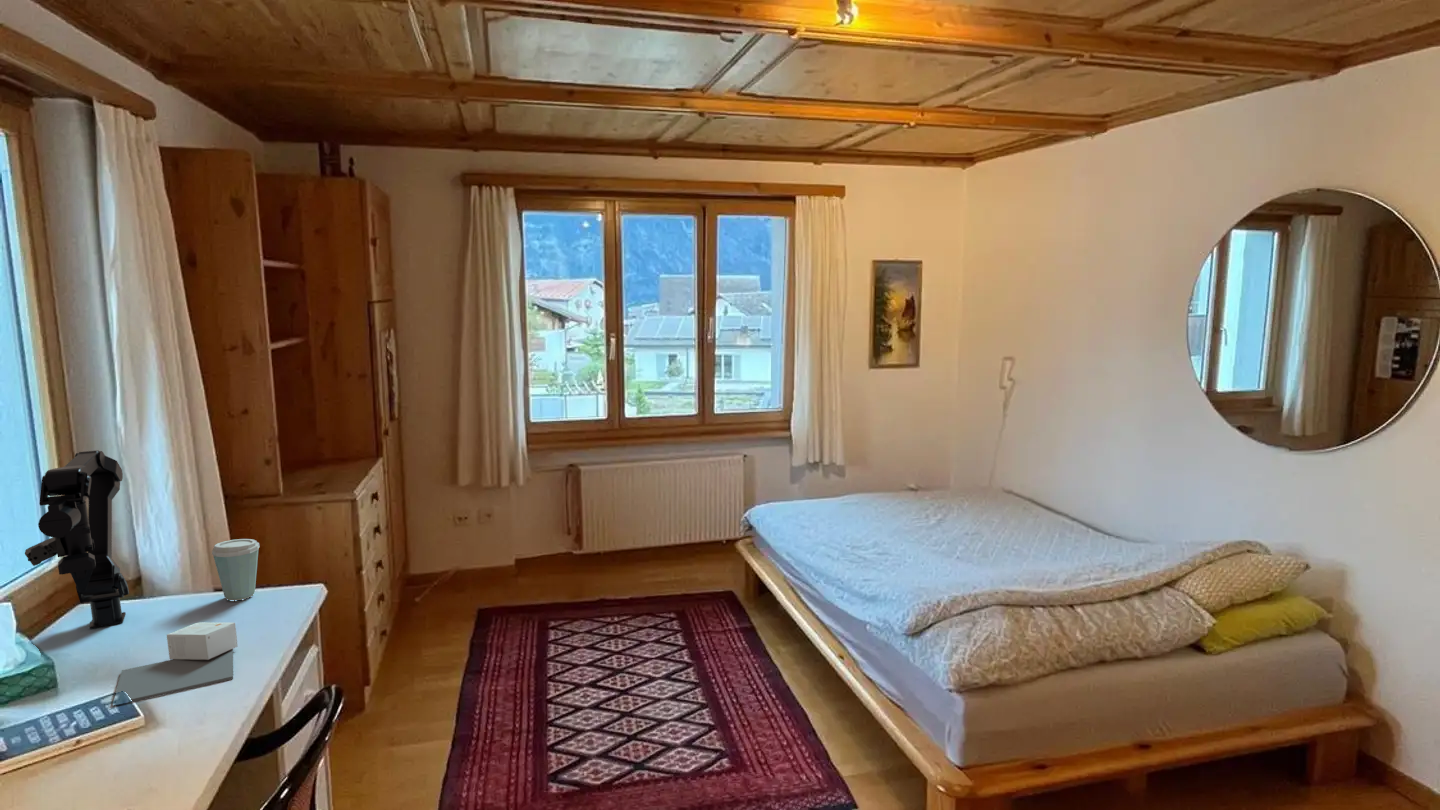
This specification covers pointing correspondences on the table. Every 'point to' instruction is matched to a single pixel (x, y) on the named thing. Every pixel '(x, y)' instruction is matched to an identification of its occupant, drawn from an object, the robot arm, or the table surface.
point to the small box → (202, 641)
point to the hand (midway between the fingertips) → (82, 591)
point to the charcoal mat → (174, 676)
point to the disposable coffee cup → (237, 567)
